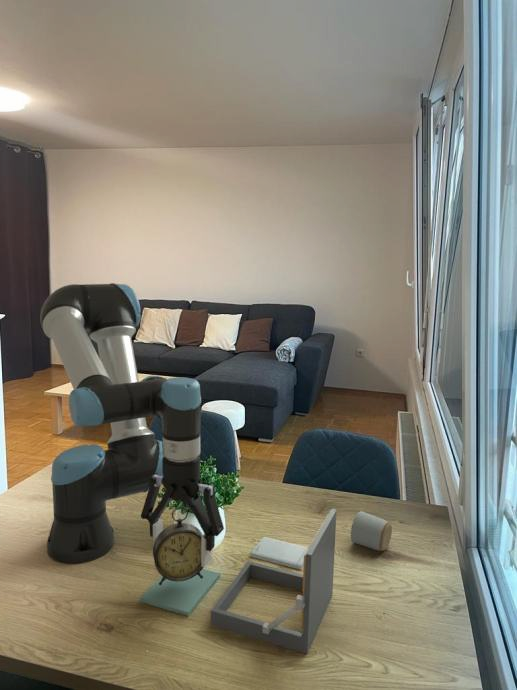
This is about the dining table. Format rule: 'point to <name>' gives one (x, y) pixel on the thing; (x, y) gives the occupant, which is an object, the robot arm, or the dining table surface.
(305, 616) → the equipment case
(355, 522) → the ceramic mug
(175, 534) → the alarm clock
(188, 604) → the rubber mat
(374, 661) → the dining table surface
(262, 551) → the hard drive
